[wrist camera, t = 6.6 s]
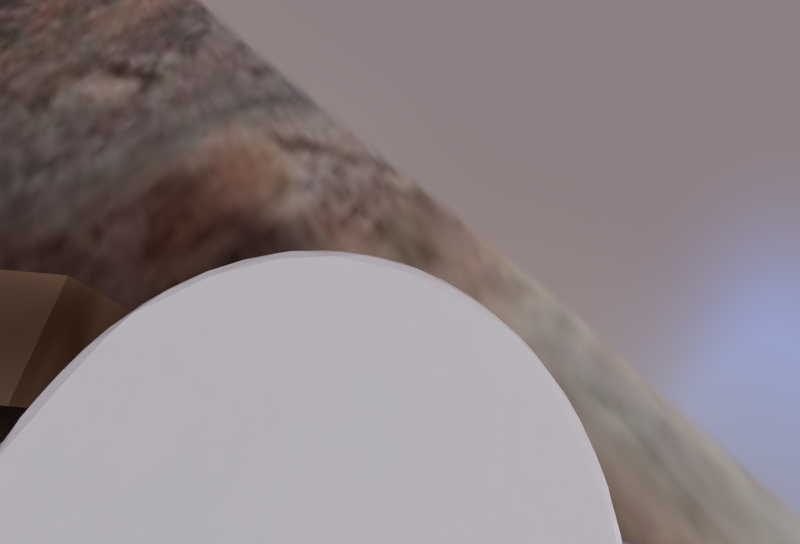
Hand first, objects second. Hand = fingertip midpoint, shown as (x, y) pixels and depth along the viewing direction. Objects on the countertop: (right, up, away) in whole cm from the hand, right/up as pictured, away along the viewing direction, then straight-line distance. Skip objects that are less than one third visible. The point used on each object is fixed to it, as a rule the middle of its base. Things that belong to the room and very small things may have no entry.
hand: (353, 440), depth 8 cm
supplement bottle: (-1, -3, +6) cm, 7 cm away
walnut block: (-12, 0, +7) cm, 14 cm away
